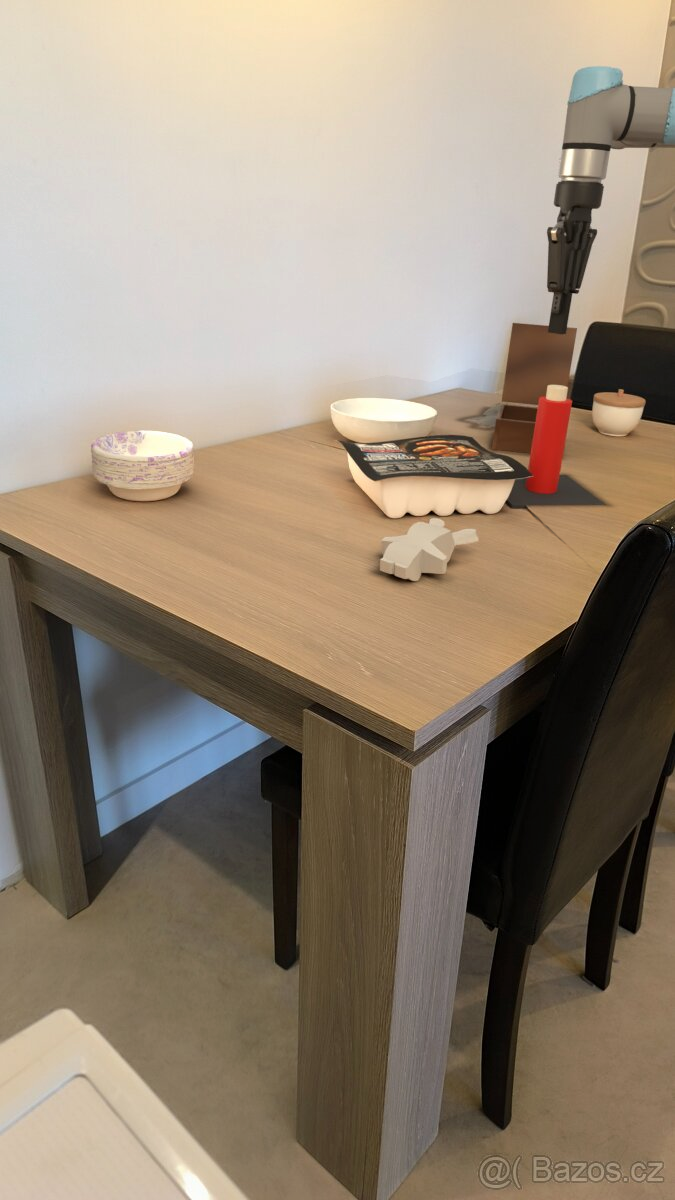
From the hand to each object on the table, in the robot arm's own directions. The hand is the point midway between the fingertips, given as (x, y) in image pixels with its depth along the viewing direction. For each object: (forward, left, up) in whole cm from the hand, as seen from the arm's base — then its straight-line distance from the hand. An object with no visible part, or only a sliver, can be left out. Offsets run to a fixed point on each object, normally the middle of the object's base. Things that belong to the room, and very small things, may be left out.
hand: (556, 332), depth 143 cm
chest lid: (-6, -20, -9) cm, 23 cm away
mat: (+5, +15, -24) cm, 29 cm away
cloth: (-6, -36, -24) cm, 43 cm away
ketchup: (+5, +15, -23) cm, 28 cm away
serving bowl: (+26, -16, -24) cm, 39 cm away
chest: (-3, -13, -24) cm, 27 cm away
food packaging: (+26, +18, -24) cm, 40 cm away
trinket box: (-28, -26, -24) cm, 45 cm away
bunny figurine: (+33, +45, -24) cm, 61 cm away
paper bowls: (+70, +15, -24) cm, 76 cm away
